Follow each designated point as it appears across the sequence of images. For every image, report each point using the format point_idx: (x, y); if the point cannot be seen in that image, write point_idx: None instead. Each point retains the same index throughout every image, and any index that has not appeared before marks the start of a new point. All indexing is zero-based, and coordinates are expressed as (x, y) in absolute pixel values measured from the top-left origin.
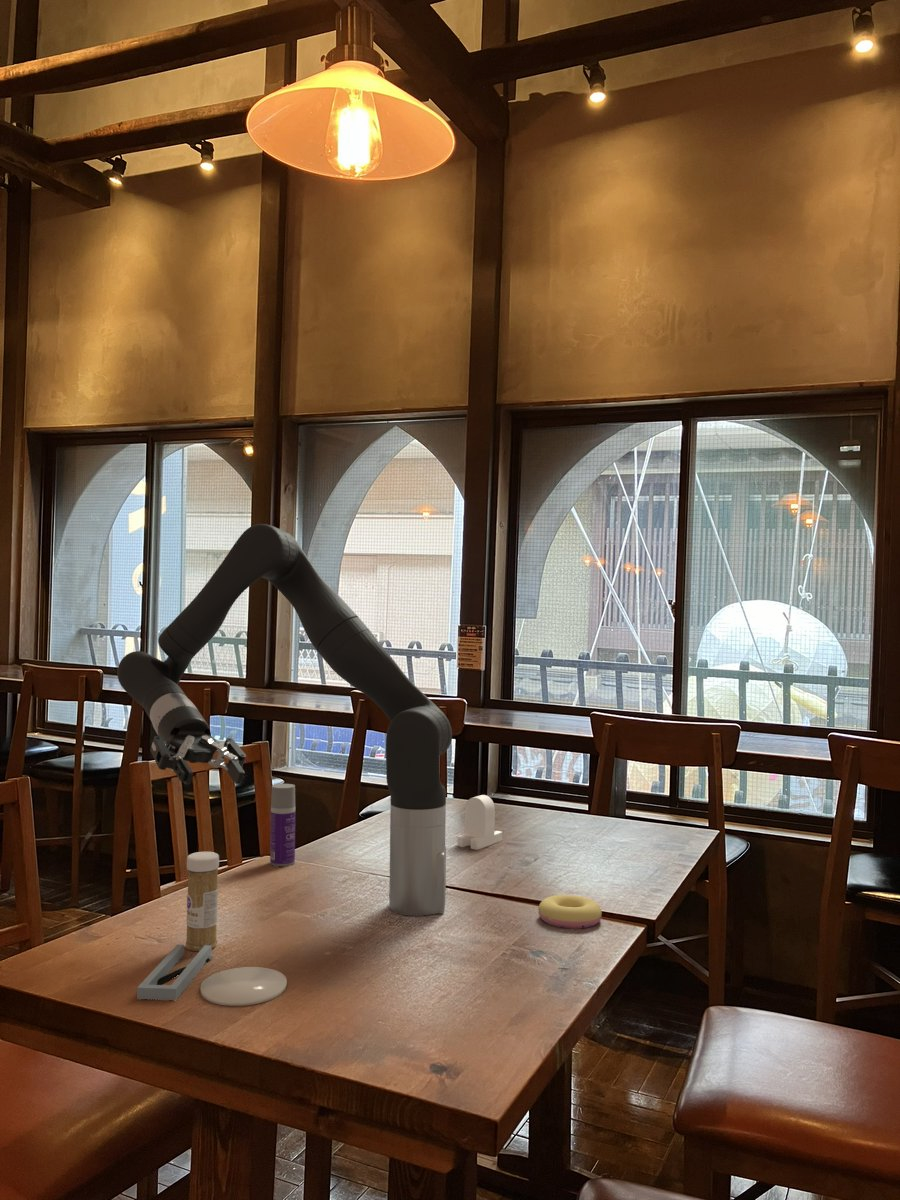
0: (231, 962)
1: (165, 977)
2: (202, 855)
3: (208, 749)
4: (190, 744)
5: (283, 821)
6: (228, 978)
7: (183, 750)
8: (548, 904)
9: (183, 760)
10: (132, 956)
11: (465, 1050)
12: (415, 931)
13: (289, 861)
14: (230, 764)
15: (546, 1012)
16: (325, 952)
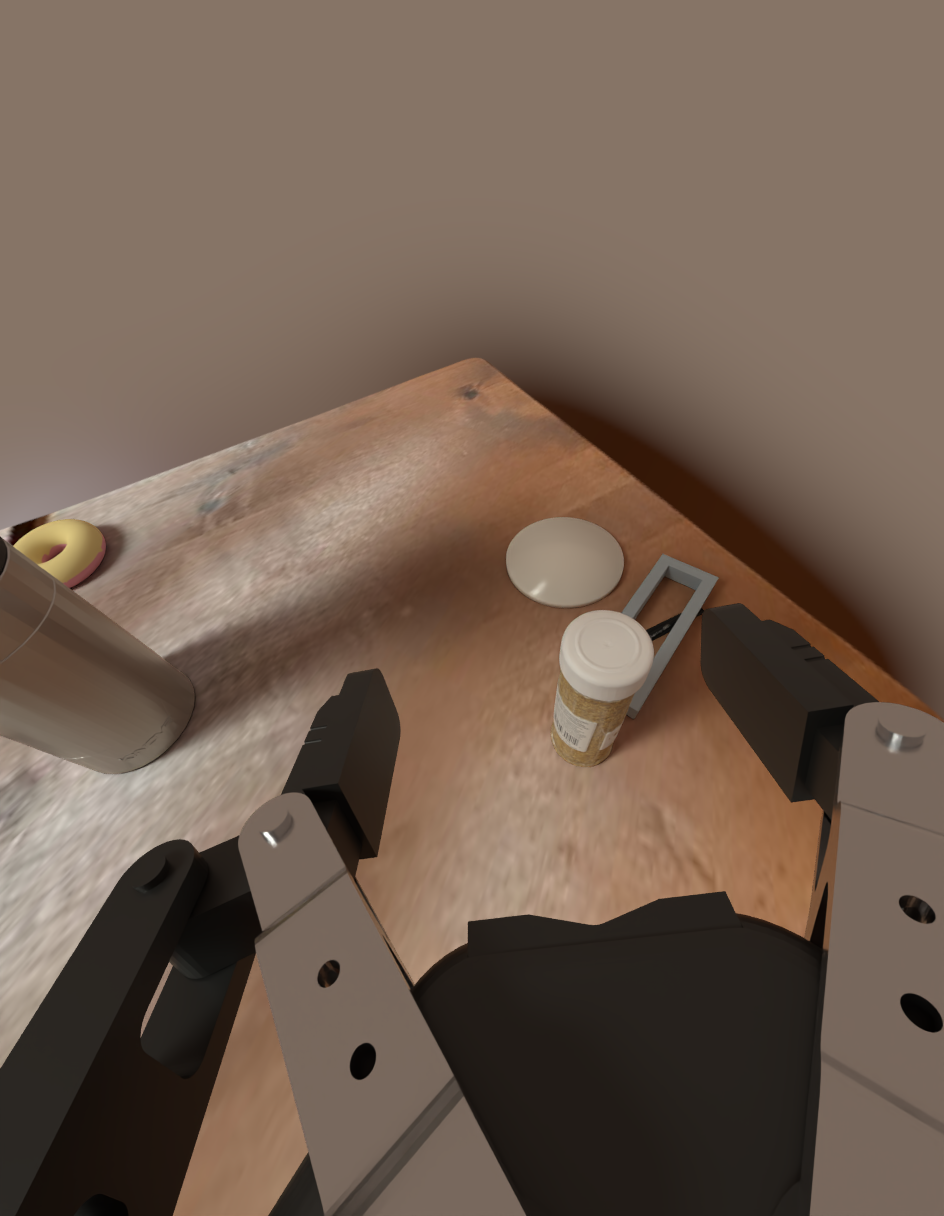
0: (551, 644)
1: (668, 622)
2: (609, 644)
3: (498, 975)
4: (836, 977)
5: None
6: (579, 577)
7: (898, 823)
8: (72, 550)
9: (824, 703)
10: (721, 758)
11: (435, 404)
12: (246, 623)
13: None
14: (353, 796)
15: (332, 422)
16: (408, 614)
